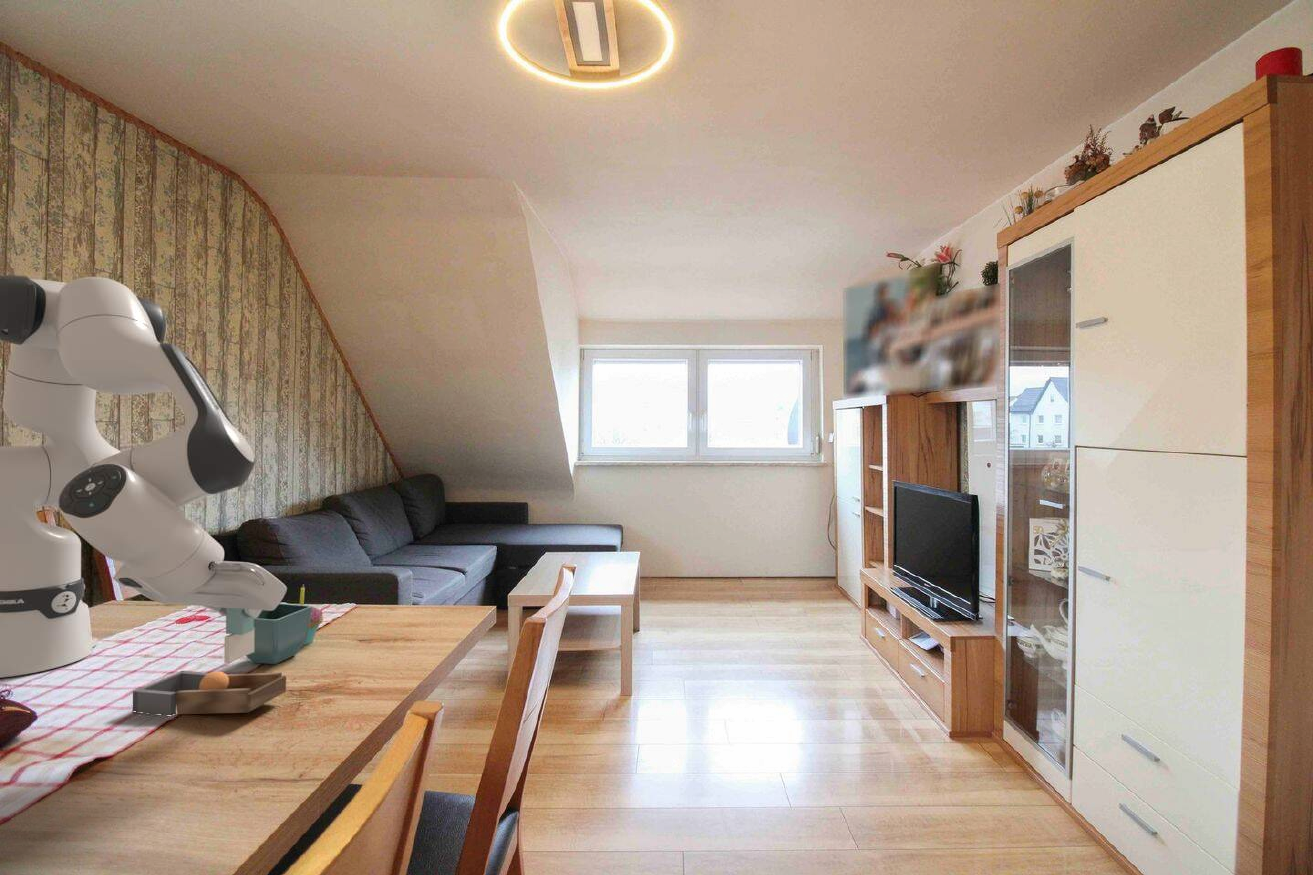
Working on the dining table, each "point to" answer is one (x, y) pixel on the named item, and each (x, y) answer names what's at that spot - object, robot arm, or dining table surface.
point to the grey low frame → (165, 693)
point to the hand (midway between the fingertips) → (243, 612)
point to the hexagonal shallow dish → (233, 694)
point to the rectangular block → (238, 635)
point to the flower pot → (280, 633)
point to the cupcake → (311, 619)
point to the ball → (214, 681)
